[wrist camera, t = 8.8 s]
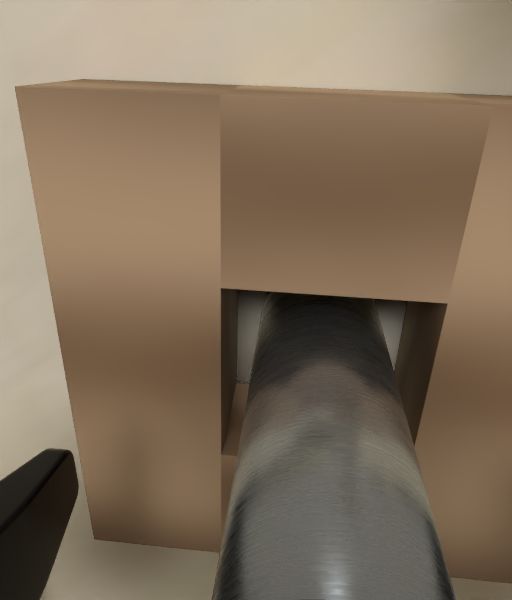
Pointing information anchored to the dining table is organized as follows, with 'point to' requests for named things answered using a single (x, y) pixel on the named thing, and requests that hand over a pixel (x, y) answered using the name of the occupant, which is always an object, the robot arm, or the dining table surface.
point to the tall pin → (327, 467)
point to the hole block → (272, 282)
